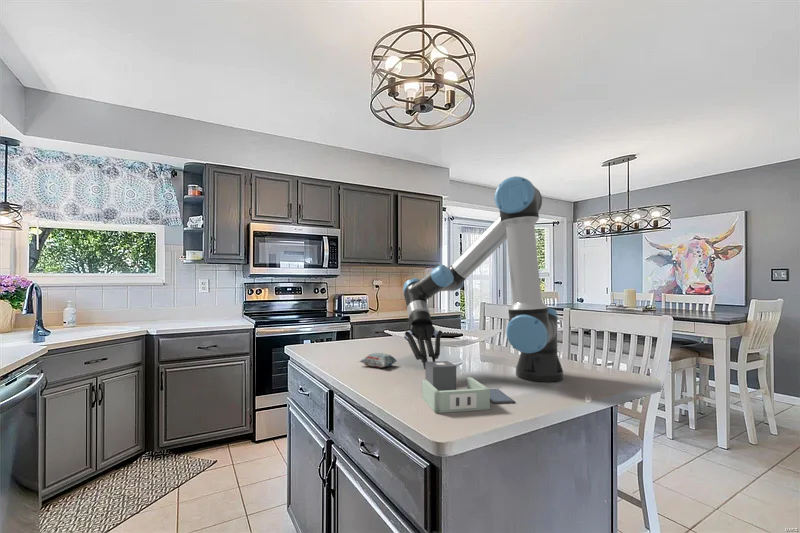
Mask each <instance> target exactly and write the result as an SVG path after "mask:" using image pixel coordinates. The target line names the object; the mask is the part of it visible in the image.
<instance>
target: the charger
mask: <svg viewBox="0 0 800 533" xmlns="http://www.w3.org/2000/svg"><path fill="white" fill-rule="evenodd" d="M424 371H425V372H424V374H425V379H424V380H427V381H428V382H430V383H431V384H432V385H433V386H434V387H435V388H436V389H437V390H438V391H446V390H457V365H455V364H454V363H453V362H451V361H448V360H440V361H438V360H435V362H425V369H424Z"/></svg>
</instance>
